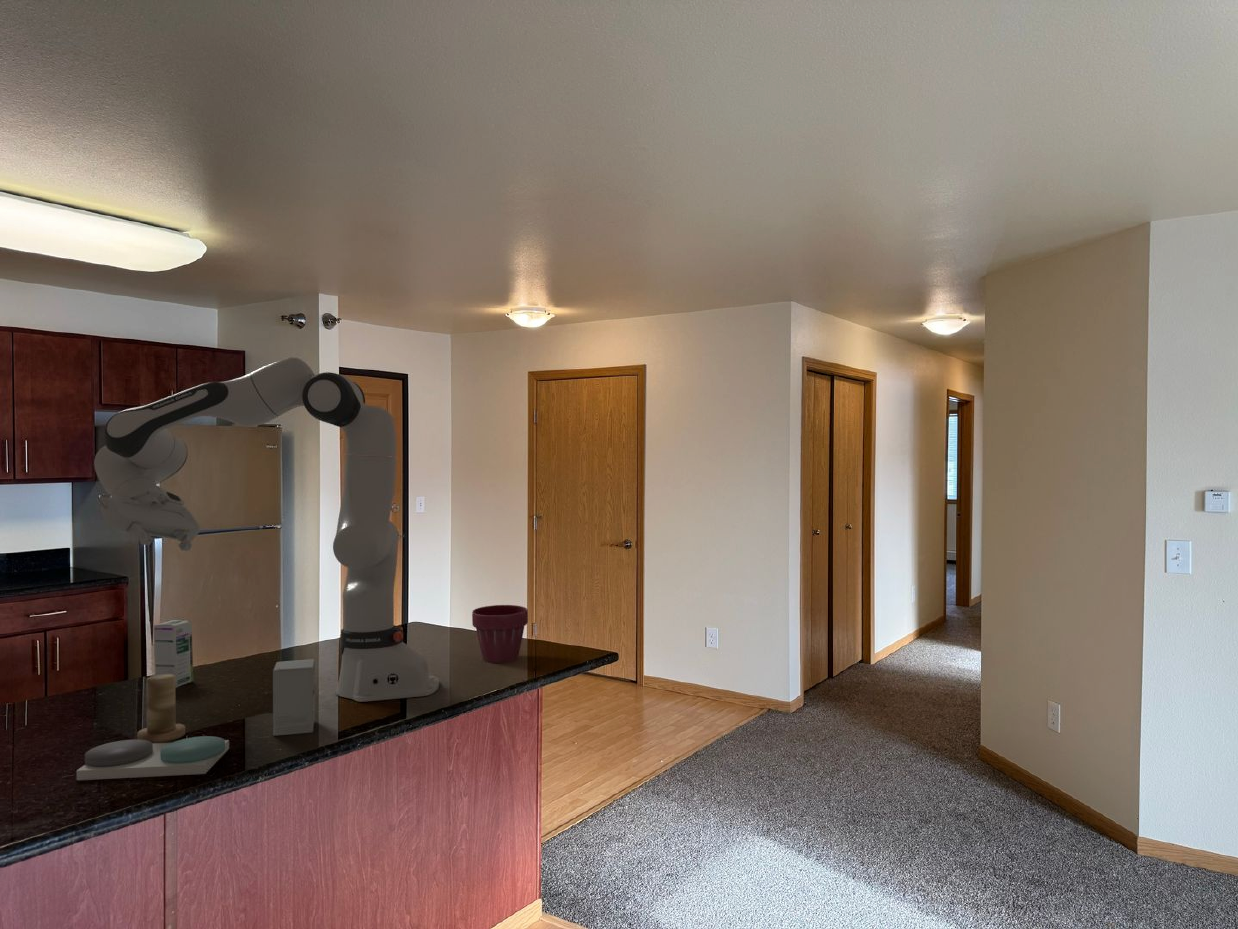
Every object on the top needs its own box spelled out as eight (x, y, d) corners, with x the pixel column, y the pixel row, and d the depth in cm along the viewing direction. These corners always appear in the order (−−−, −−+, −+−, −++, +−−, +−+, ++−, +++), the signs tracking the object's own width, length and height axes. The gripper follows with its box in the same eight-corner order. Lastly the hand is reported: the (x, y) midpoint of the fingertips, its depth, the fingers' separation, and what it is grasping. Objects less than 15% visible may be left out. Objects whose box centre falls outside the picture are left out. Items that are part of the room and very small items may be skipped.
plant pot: (484, 668, 208) (483, 617, 208) (464, 656, 221) (464, 608, 220) (536, 661, 216) (536, 611, 215) (515, 650, 228) (514, 602, 228)
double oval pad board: (234, 748, 153) (234, 733, 153) (211, 773, 141) (211, 756, 141) (105, 754, 150) (104, 739, 150) (70, 780, 138) (69, 763, 138)
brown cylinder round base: (191, 728, 164) (191, 671, 164) (175, 742, 156) (174, 682, 156) (148, 730, 163) (147, 673, 163) (129, 744, 155) (128, 684, 155)
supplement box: (313, 733, 161) (313, 667, 161) (272, 736, 159) (271, 670, 159) (316, 721, 168) (315, 658, 168) (276, 724, 166) (275, 660, 166)
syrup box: (176, 688, 192) (175, 625, 192) (153, 687, 193) (153, 624, 193) (193, 681, 198) (192, 620, 198) (171, 680, 199) (170, 619, 199)
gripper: (103, 481, 169) (132, 526, 164) (188, 499, 188) (216, 540, 182) (85, 504, 170) (112, 550, 164) (171, 520, 188) (199, 562, 183)
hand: (168, 545), depth 173 cm, fingers open, 8 cm apart
